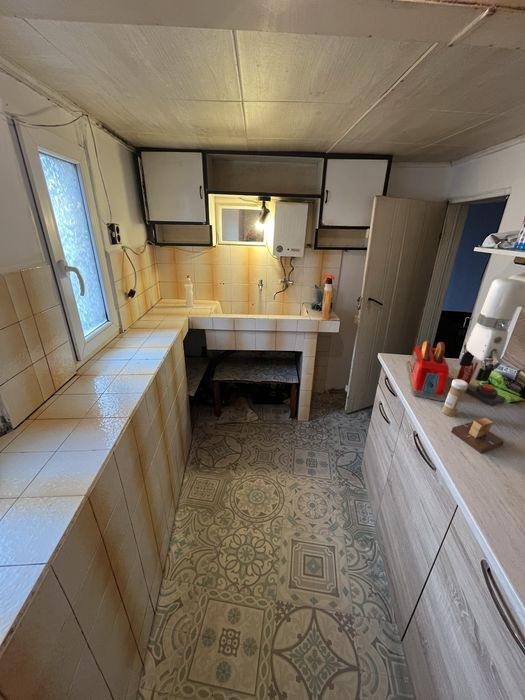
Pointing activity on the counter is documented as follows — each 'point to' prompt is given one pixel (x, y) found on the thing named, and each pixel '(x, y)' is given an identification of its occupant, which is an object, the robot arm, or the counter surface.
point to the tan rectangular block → (480, 427)
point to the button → (488, 388)
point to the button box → (485, 395)
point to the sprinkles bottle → (454, 397)
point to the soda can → (467, 371)
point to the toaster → (428, 371)
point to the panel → (478, 443)
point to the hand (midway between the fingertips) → (472, 372)
